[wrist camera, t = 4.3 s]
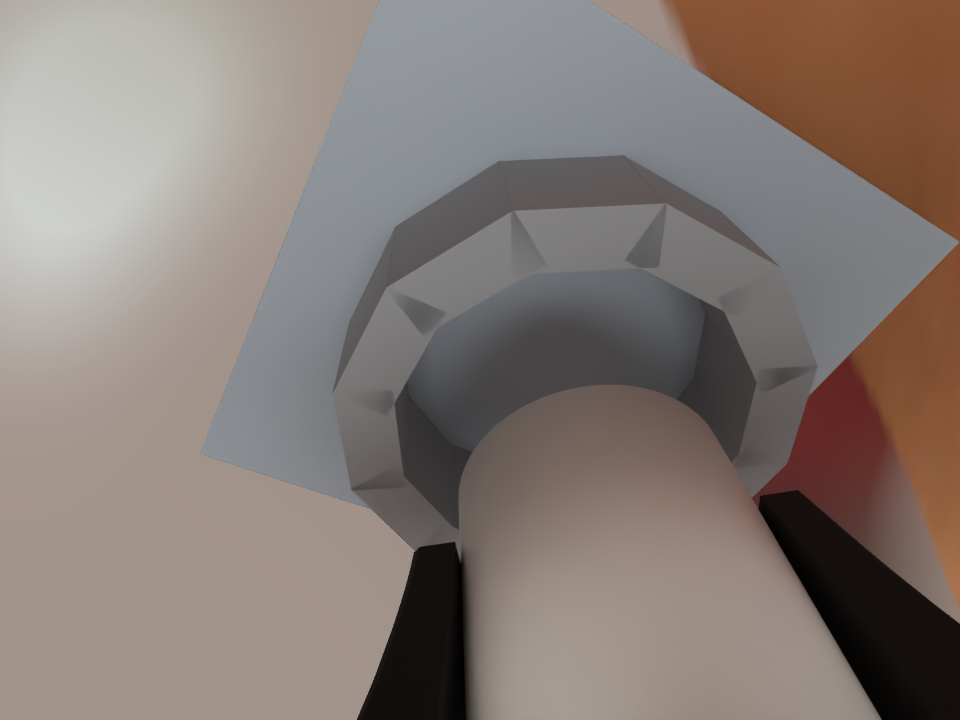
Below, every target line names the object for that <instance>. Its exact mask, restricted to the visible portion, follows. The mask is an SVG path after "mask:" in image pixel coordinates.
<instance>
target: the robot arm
mask: <svg viewBox="0 0 960 720" xmlns="http://www.w3.org/2000/svg"><path fill="white" fill-rule="evenodd" d="M759 511H760V513H761V515H762V516H763V518H764V520H765V522H766V523H767V525H768V527H769V528H770V530H771V532H772V533H773V535H774V537H775V539H776V540H777V542H778V544H779V545H780V547H781V549H782V551H783V552H784V554H785V556H786V557H787V559H788V561H789V562H790V564H791V566H792V568H793V569H794V571H795V573H796V574H797V576H798V578H799V579H800V581H801V583H802V585H803V586H804V588H805V590H806V591H807V593H808V595H809V597H810V598H811V600H812V602H813V603H814V605H815V607H816V608H817V610H818V612H819V614H820V615H821V617H822V619H823V620H824V622H825V624H826V626H827V627H828V629H829V631H830V632H831V634H832V636H833V637H834V639H835V641H836V643H837V644H838V646H839V648H840V649H841V651H842V653H843V655H844V656H845V658H846V660H847V661H848V663H849V665H850V666H851V668H852V670H853V672H854V673H855V675H856V677H857V678H858V680H859V682H860V683H861V685H862V687H863V689H864V690H865V692H866V694H867V695H868V697H869V699H870V701H871V702H872V704H873V706H874V707H875V709H876V711H877V712H878V714H879V716H880V718H881V719H882V720H960V624H959V623H958V622H957V621H955V620H954V619H953V618H951V617H950V616H949V615H948V614H946V613H945V612H944V611H942V610H941V609H940V608H938V607H937V606H936V605H935V604H933V603H932V602H931V601H930V600H928V599H927V598H926V597H925V596H923V595H922V594H921V593H920V592H918V591H917V590H916V589H915V588H913V587H912V586H911V585H910V584H908V583H907V582H906V581H905V580H903V579H902V578H901V577H900V576H899V575H897V574H896V573H895V572H894V571H892V570H891V569H890V568H889V567H887V566H886V565H885V564H884V563H883V562H881V561H880V560H879V559H878V558H877V557H876V556H874V555H873V554H872V553H871V552H869V551H868V550H867V549H866V548H865V547H864V546H862V545H861V544H860V543H859V542H858V541H857V540H855V539H854V538H853V537H852V536H851V535H849V534H848V533H847V532H846V531H845V530H844V529H843V528H841V527H840V526H839V525H838V524H837V523H836V522H835V521H833V520H832V519H831V518H830V517H829V516H828V515H826V514H825V513H824V512H823V511H822V510H821V509H820V508H818V507H817V506H816V505H815V504H814V503H813V502H812V501H810V500H809V499H808V498H807V497H806V496H805V495H803V494H802V493H801V492H799V491H798V490H796V491H789V492H783V493H776V494H769V495H763V496H760V502H759ZM357 720H466V705H465V677H464V648H463V614H462V586H461V563H460V559H459V555H458V551H457V547H456V543H455V542H449V543H442V544H435V545H429V546H422V547H419V548H418V549H417V550H416V551H415V552H414V555H413V559H412V564H411V568H410V572H409V576H408V580H407V584H406V587H405V591H404V594H403V597H402V600H401V604H400V607H399V610H398V613H397V616H396V619H395V623H394V625H393V628H392V631H391V634H390V637H389V640H388V642H387V645H386V648H385V651H384V653H383V656H382V659H381V661H380V664H379V667H378V670H377V672H376V675H375V677H374V680H373V683H372V685H371V688H370V690H369V692H368V695H367V697H366V699H365V702H364V704H363V706H362V709H361V711H360V714H359V716H358V718H357Z"/></svg>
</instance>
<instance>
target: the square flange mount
mask: <svg viewBox="0 0 960 720" xmlns="http://www.w3.org/2000/svg"><path fill="white" fill-rule="evenodd" d="M958 243H959V241H957V240H956V239H954V238H953V237H951V236H950V235H948V234H947V233H945V232H944V231H942V230H941V229H939V228H938V227H936V226H935V225H933V224H931V223H930V222H928V221H927V220H925V219H924V218H922V217H921V216H919V215H918V214H916V213H915V212H913V211H912V210H910V209H909V208H907V207H905V206H904V205H902V204H901V203H899V202H898V201H896V200H895V199H893V198H892V197H890V196H889V195H887V194H886V193H884V192H882V191H881V190H879V189H878V188H876V187H875V186H873V185H872V184H870V183H869V182H867V181H866V180H864V179H863V178H861V177H860V176H858V175H856V174H855V173H853V172H852V171H850V170H849V169H847V168H846V167H844V166H843V165H841V164H840V163H838V162H837V161H835V160H834V159H832V158H830V157H829V156H827V155H826V154H824V153H823V152H821V151H820V150H818V149H817V148H815V147H814V146H812V145H811V144H809V143H808V142H806V141H804V140H803V139H801V138H800V137H798V136H797V135H795V134H794V133H792V132H791V131H789V130H788V129H786V128H785V127H783V126H782V125H780V124H778V123H777V122H775V121H774V120H772V119H771V118H769V117H768V116H766V115H765V114H763V113H762V112H760V111H759V110H757V109H756V108H754V107H752V106H751V105H749V104H748V103H746V102H745V101H743V100H742V99H740V98H739V97H737V96H736V95H734V94H733V93H731V92H730V91H728V90H726V89H725V88H723V87H722V86H720V85H719V84H717V83H716V82H714V81H713V80H711V79H710V78H708V77H707V76H705V75H704V74H702V73H700V72H699V71H697V70H696V69H694V68H693V67H691V66H690V65H688V64H687V63H685V62H684V61H682V60H681V59H679V58H678V57H676V56H674V55H673V54H671V53H670V52H668V51H667V50H665V49H664V48H662V47H660V46H659V45H658V44H656V43H655V42H653V41H652V40H650V39H648V38H647V37H645V36H644V35H642V34H641V33H639V32H638V31H636V30H634V29H633V28H632V27H630V26H629V25H627V24H626V23H624V22H622V21H621V20H619V19H618V18H616V17H615V16H613V15H612V14H610V13H609V12H607V11H605V10H604V9H602V8H601V7H600V6H598V5H596V4H595V3H593V2H592V1H590V0H379V1H378V4H377V6H376V9H375V11H374V14H373V16H372V19H371V22H370V24H369V27H368V29H367V32H366V34H365V37H364V39H363V42H362V44H361V47H360V50H359V52H358V55H357V57H356V60H355V62H354V65H353V67H352V70H351V72H350V75H349V77H348V80H347V82H346V85H345V87H344V90H343V92H342V95H341V98H340V100H339V103H338V105H337V108H336V110H335V113H334V115H333V118H332V120H331V123H330V125H329V128H328V131H327V133H326V136H325V138H324V141H323V143H322V146H321V148H320V151H319V153H318V156H317V158H316V161H315V163H314V166H313V168H312V171H311V174H310V176H309V179H308V181H307V184H306V186H305V189H304V191H303V194H302V196H301V199H300V201H299V204H298V206H297V209H296V211H295V214H294V217H293V219H292V222H291V224H290V227H289V229H288V232H287V234H286V237H285V239H284V242H283V245H282V247H281V250H280V252H279V255H278V257H277V260H276V262H275V265H274V267H273V270H272V272H271V275H270V277H269V280H268V283H267V285H266V288H265V290H264V292H263V295H262V298H261V301H260V303H259V305H258V308H257V310H256V313H255V315H254V318H253V320H252V323H251V325H250V328H249V331H248V333H247V336H246V338H245V341H244V344H243V346H242V348H241V351H240V353H239V356H238V358H237V361H236V363H235V366H234V368H233V371H232V374H231V376H230V379H229V381H228V384H227V386H226V389H225V391H224V394H223V396H222V399H221V401H220V404H219V407H218V409H217V412H216V414H215V417H214V419H213V422H212V424H211V427H210V429H209V432H208V434H207V437H206V439H205V442H204V444H203V447H202V449H201V452H200V454H201V455H204V456H207V457H211V458H213V459H217V460H220V461H223V462H226V463H229V464H232V465H235V466H238V467H241V468H245V469H248V470H251V471H254V472H257V473H260V474H263V475H266V476H270V477H273V478H276V479H279V480H282V481H285V482H289V483H291V484H294V485H297V486H301V487H304V488H307V489H310V490H313V491H316V492H319V493H322V494H325V495H328V496H332V497H335V498H338V499H341V500H344V501H347V502H350V503H353V504H357V505H360V506H363V507H366V508H369V509H372V510H373V511H374V512H375V513H376V514H377V515H378V516H379V517H380V518H381V519H382V520H383V521H384V522H385V523H386V524H387V525H389V526H390V527H391V528H392V529H393V530H394V531H395V532H396V533H397V534H398V535H399V536H400V537H401V538H402V539H403V540H404V541H405V542H406V543H407V544H408V545H409V546H410V547H412V548H413V549H414V550H415V551H416V550H417V549H418V548H419V547H422V546H429V545H435V544H442V543H449V542H455V543H456V547H457V551H458V555H459V559H460V534H459V505H458V498H459V485H460V480H461V476H462V473H463V471H464V468H465V465H466V463H467V461H468V459H469V458H470V456H471V454H472V452H473V450H474V449H475V448H476V447H477V445H478V444H479V443H480V441H481V440H482V439H483V437H484V436H486V435H487V434H488V433H489V432H490V431H491V430H492V429H493V428H494V427H495V426H496V425H497V424H498V423H500V422H501V421H502V420H503V419H505V418H506V417H507V416H509V415H510V414H512V413H513V412H515V411H517V410H518V409H520V408H522V407H523V406H525V405H527V404H529V403H531V402H534V401H536V400H538V399H540V398H542V397H545V396H548V395H551V394H554V393H557V392H560V391H564V390H569V389H573V388H578V387H584V386H593V385H626V386H636V387H641V388H645V389H650V390H654V391H657V392H660V393H662V394H665V395H668V396H670V397H672V398H674V399H676V400H678V401H680V402H682V403H684V404H685V405H687V406H688V407H689V408H691V409H692V410H693V411H695V412H696V413H697V414H698V415H699V416H700V417H701V418H702V419H703V420H704V421H705V422H706V423H707V424H708V426H709V427H710V429H711V430H712V432H713V433H714V435H715V436H716V438H717V440H718V441H719V443H720V445H721V447H722V448H723V450H724V452H725V453H726V455H727V457H728V458H729V460H730V462H731V464H732V465H733V467H734V469H735V470H736V472H737V474H738V476H739V477H740V479H741V481H742V482H743V484H744V486H745V487H746V489H747V491H748V493H749V494H750V496H751V498H752V497H753V496H754V495H755V494H756V493H757V492H758V491H759V490H760V489H761V488H762V487H763V486H764V485H766V484H767V483H768V482H769V480H771V479H772V478H773V477H774V476H775V475H776V474H777V473H778V472H779V471H780V470H781V469H782V468H783V467H784V466H785V465H786V464H787V463H788V460H789V456H790V453H791V450H792V447H793V444H794V441H795V437H796V434H797V431H798V428H799V425H800V422H801V418H802V415H803V412H804V409H805V406H806V403H807V399H808V396H809V395H810V394H811V393H812V392H813V391H814V390H815V389H816V388H817V387H818V386H819V385H820V384H821V383H822V382H823V381H824V380H825V379H826V378H827V377H828V376H829V375H830V374H831V372H833V371H834V369H836V367H838V365H839V364H840V363H841V362H842V361H843V360H844V359H845V358H846V357H847V356H848V355H849V354H850V353H851V352H852V351H853V350H854V349H855V348H856V347H857V346H858V345H859V344H860V343H861V342H862V341H863V340H864V339H865V338H866V337H867V336H868V335H869V334H870V333H871V332H872V331H873V330H874V329H875V328H876V327H877V326H878V325H879V324H880V323H881V322H882V321H883V320H884V319H885V318H886V317H887V316H888V315H889V313H890V312H891V311H892V310H893V309H894V308H895V307H896V306H897V305H898V304H899V303H900V302H901V301H902V300H903V299H904V298H905V297H906V296H907V295H908V294H909V293H910V292H911V291H912V290H913V289H914V288H915V287H916V286H917V285H918V284H919V283H920V282H921V281H922V280H923V279H924V278H925V277H926V276H927V275H928V274H929V273H930V272H931V271H932V270H933V269H934V268H935V267H936V266H937V265H938V264H939V263H940V261H941V260H942V259H943V258H944V257H945V256H946V255H947V254H948V253H949V252H950V251H951V250H952V249H953V248H954V247H955V246H956V245H957V244H958Z"/></svg>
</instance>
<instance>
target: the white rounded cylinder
mask: <svg viewBox="0 0 960 720" xmlns="http://www.w3.org/2000/svg"><path fill="white" fill-rule="evenodd" d="M458 505H459V534H460V563H461V586H462V614H463V648H464V677H465V705H466V720H882V719H881V718H880V716H879V714H878V712H877V711H876V709H875V707H874V706H873V704H872V702H871V701H870V699H869V697H868V695H867V694H866V692H865V690H864V689H863V687H862V685H861V683H860V682H859V680H858V678H857V677H856V675H855V673H854V672H853V670H852V668H851V666H850V665H849V663H848V661H847V660H846V658H845V656H844V655H843V653H842V651H841V649H840V648H839V646H838V644H837V643H836V641H835V639H834V637H833V636H832V634H831V632H830V631H829V629H828V627H827V626H826V624H825V622H824V620H823V619H822V617H821V615H820V614H819V612H818V610H817V608H816V607H815V605H814V603H813V602H812V600H811V598H810V597H809V595H808V593H807V591H806V590H805V588H804V586H803V585H802V583H801V581H800V579H799V578H798V576H797V574H796V573H795V571H794V569H793V568H792V566H791V564H790V562H789V561H788V559H787V557H786V556H785V554H784V552H783V551H782V549H781V547H780V545H779V544H778V542H777V540H776V539H775V537H774V535H773V533H772V532H771V530H770V528H769V527H768V525H767V523H766V522H765V520H764V518H763V516H762V515H761V513H760V511H759V510H758V508H757V506H756V505H755V503H754V501H753V499H752V498H751V496H750V494H749V493H748V491H747V489H746V487H745V486H744V484H743V482H742V481H741V479H740V477H739V476H738V474H737V472H736V470H735V469H734V467H733V465H732V464H731V462H730V460H729V458H728V457H727V455H726V453H725V452H724V450H723V448H722V447H721V445H720V443H719V441H718V440H717V438H716V436H715V435H714V433H713V432H712V430H711V429H710V427H709V426H708V424H707V423H706V422H705V421H704V420H703V419H702V418H701V417H700V416H699V415H698V414H697V413H696V412H695V411H693V410H692V409H691V408H689V407H688V406H687V405H685V404H684V403H682V402H680V401H678V400H676V399H674V398H672V397H670V396H668V395H665V394H662V393H660V392H657V391H654V390H650V389H645V388H641V387H636V386H626V385H593V386H584V387H578V388H573V389H569V390H564V391H560V392H557V393H554V394H551V395H548V396H545V397H542V398H540V399H538V400H536V401H534V402H531V403H529V404H527V405H525V406H523V407H522V408H520V409H518V410H517V411H515V412H513V413H512V414H510V415H509V416H507V417H506V418H505V419H503V420H502V421H501V422H500V423H498V424H497V425H496V426H495V427H494V428H493V429H492V430H491V431H490V432H489V433H488V434H487V435H486V436H484V437H483V439H482V440H481V441H480V443H479V444H478V445H477V447H476V448H475V449H474V450H473V452H472V454H471V456H470V458H469V459H468V461H467V463H466V465H465V468H464V471H463V473H462V476H461V480H460V485H459V498H458Z"/></svg>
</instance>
